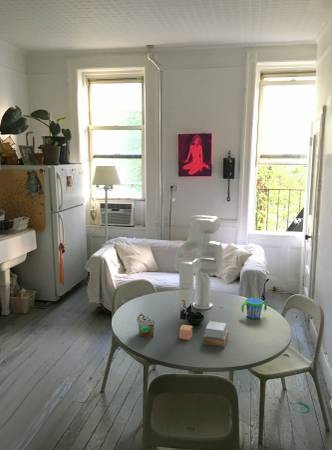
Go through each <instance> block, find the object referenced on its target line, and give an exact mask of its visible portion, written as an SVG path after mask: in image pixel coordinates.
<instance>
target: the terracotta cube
mask: <svg viewBox="0 0 332 450" xmlns="http://www.w3.org/2000/svg"><path fill="white" fill-rule="evenodd" d="M192 337H193V325H188V324H182V325H181V326H180V327H179V339H180V338H181V339H183V340H187V341H188V340H189V341H190V340H191V338H192ZM181 339H180V340H181Z"/></svg>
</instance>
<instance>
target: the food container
mask: <svg viewBox="0 0 332 450" xmlns="http://www.w3.org/2000/svg"><path fill="white" fill-rule="evenodd" d="M136 322H137V324H138V325H137V326H138V333H139V337H141V338H143V337H146V338H145V339H150V338H149V337H152V338H154V330H155V324H156V323H155V320H154V319H153V320H152V319H150V318H149V317H147V316H145V315H143V313H142V312H141V313H139V314H138V315H137V317H136Z"/></svg>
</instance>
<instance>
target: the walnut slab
mask: <svg viewBox="0 0 332 450" xmlns="http://www.w3.org/2000/svg"><path fill="white" fill-rule="evenodd" d="M228 340H229V330H228V329H226V333H225V335H224V338H223V339H220V338H213V337H207V336H206V331H205V332H204V335H203V337H202V344H203V345H209V346H214V347H221V348H222V347H223V348H225V346H226V344H227V341H228Z"/></svg>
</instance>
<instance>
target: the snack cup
mask: <svg viewBox="0 0 332 450" xmlns="http://www.w3.org/2000/svg"><path fill="white" fill-rule="evenodd" d="M263 305H264V307H263ZM245 306H246V315H247V317H248V318H250V319H253V320H255V319H256V320H257V319H260V317H261V315H262V311H263V310H264V311H267V310H268V308H267V307H268V306H267V303H266V301H264V300H263V299H261V298H259V297H248V298H246V299H245V300H244V302H243V303H242V305H241V309H240V310H241V312H242V313H245V312H244V309H245ZM262 309H263V310H262Z"/></svg>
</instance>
